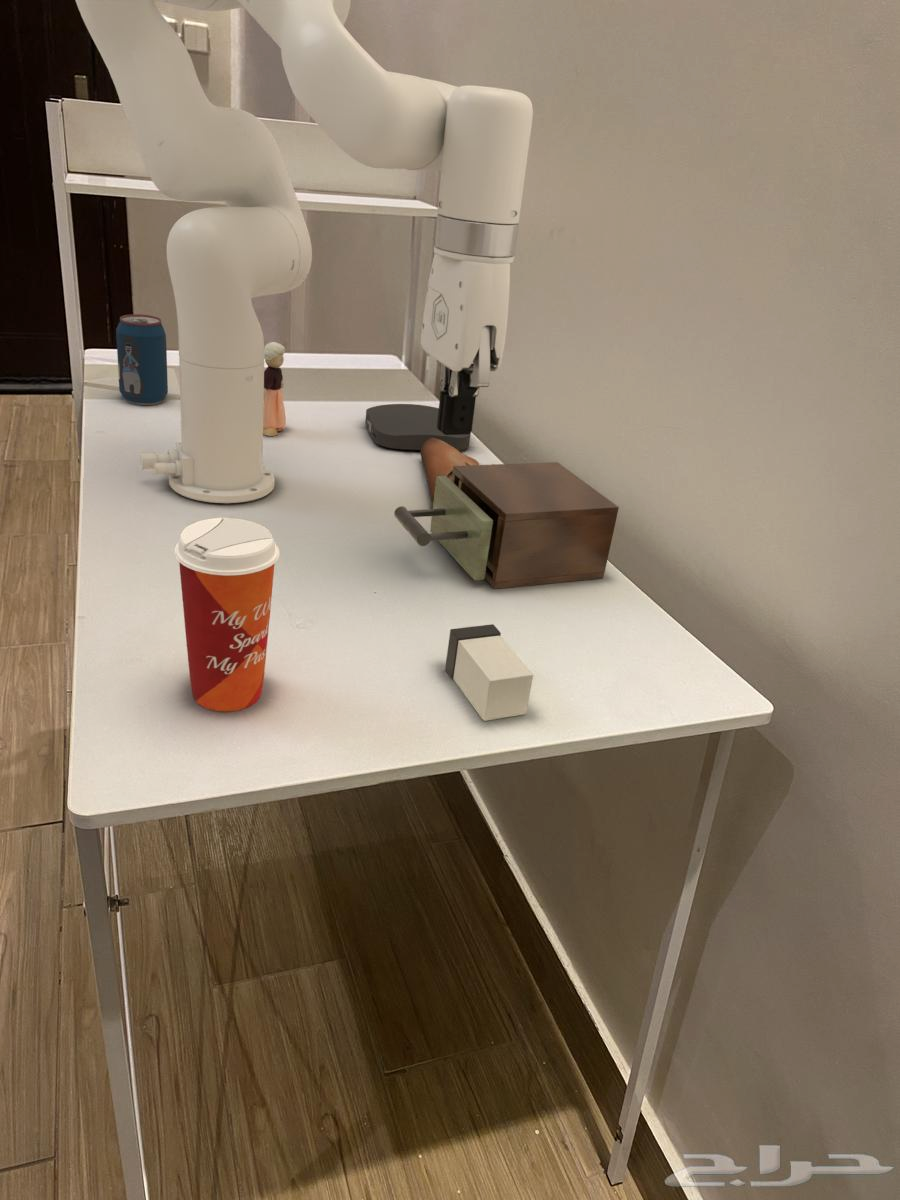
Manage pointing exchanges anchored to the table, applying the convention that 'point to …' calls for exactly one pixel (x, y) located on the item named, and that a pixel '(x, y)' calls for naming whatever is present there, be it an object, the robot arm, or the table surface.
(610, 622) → the table surface
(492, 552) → the drawer
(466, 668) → the eraser
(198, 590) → the paper cup
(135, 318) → the soda can
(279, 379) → the grandmother figurine
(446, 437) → the media streaming box
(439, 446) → the sunglasses case
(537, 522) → the cabinet
